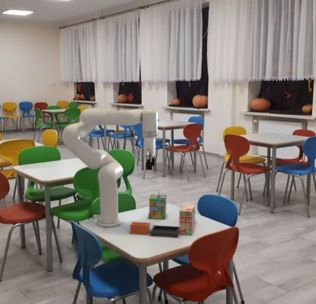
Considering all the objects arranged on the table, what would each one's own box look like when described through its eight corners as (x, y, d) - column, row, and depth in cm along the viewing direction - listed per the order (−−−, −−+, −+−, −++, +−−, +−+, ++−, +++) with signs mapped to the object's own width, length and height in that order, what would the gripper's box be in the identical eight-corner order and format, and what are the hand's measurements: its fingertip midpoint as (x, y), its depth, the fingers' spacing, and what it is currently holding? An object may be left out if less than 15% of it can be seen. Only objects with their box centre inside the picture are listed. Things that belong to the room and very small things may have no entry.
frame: (150, 235, 207) (150, 231, 207) (153, 229, 217) (153, 225, 216) (177, 237, 205) (177, 233, 204) (179, 230, 214) (179, 226, 214)
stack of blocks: (183, 220, 230) (183, 198, 227) (195, 221, 228) (195, 199, 226) (179, 234, 209) (179, 210, 207) (191, 235, 208) (192, 211, 206)
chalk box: (150, 213, 241) (150, 188, 239) (166, 214, 240) (166, 189, 238) (148, 218, 232) (148, 192, 230) (165, 219, 231) (165, 193, 229)
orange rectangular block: (130, 233, 210) (130, 225, 210) (132, 230, 215) (132, 221, 215) (148, 234, 209) (148, 226, 208) (150, 231, 214) (149, 222, 213)
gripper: (145, 132, 220) (145, 164, 223) (139, 136, 203) (140, 171, 206) (159, 132, 219) (159, 164, 222) (155, 136, 202) (155, 171, 205)
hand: (150, 167), depth 214 cm, fingers open, 9 cm apart
